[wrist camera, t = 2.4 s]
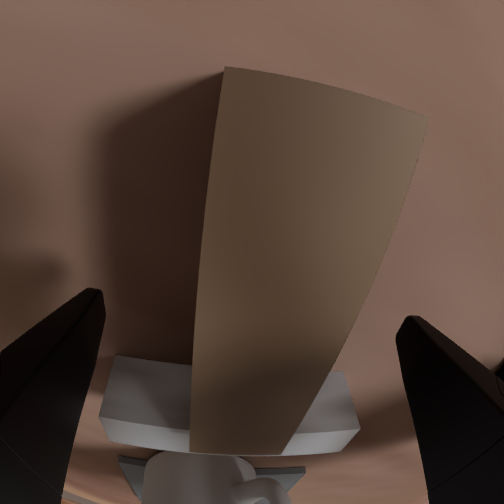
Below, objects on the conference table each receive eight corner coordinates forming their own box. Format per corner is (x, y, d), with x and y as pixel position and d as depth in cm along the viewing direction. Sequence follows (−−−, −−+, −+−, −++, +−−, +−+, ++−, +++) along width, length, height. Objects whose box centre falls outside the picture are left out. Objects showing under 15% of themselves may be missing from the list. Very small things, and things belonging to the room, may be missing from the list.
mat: (304, 466, 22) (305, 472, 22) (269, 504, 29) (269, 508, 29) (118, 455, 20) (117, 461, 20) (140, 496, 27) (139, 500, 27)
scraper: (443, 126, 9) (537, 171, 5) (327, 397, 16) (343, 468, 12) (102, 64, 7) (12, 70, 4) (122, 383, 15) (106, 459, 11)
